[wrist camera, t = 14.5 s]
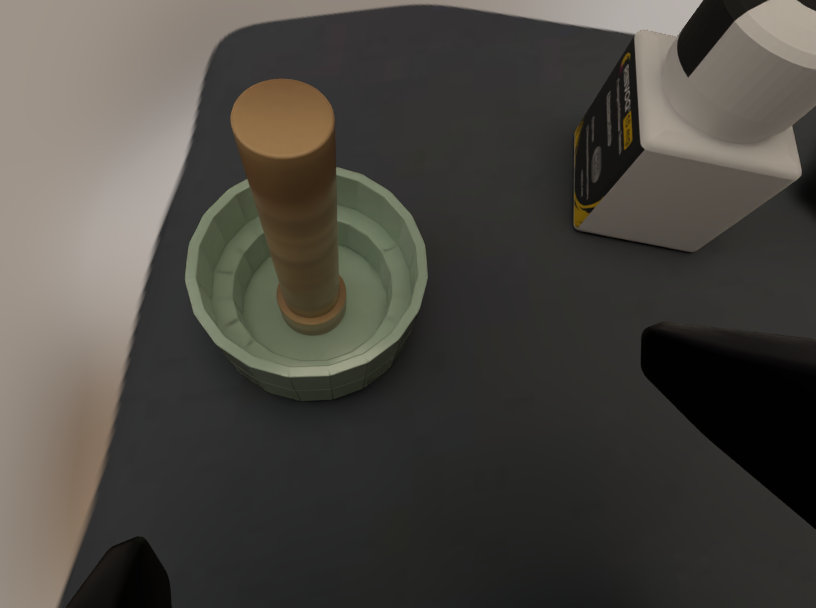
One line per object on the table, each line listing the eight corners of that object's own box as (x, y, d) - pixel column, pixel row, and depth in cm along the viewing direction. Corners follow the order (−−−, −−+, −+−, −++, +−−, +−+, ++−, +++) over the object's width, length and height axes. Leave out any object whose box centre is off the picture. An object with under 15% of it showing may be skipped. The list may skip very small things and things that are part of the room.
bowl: (417, 398, 22) (436, 372, 17) (210, 407, 21) (172, 381, 16) (405, 227, 25) (418, 166, 21) (226, 226, 24) (198, 161, 19)
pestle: (346, 335, 22) (348, 169, 11) (279, 336, 22) (211, 167, 11) (345, 275, 23) (346, 71, 12) (281, 276, 23) (221, 64, 12)
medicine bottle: (572, 131, 29) (710, -94, 18) (684, 154, 30) (886, -52, 18) (571, 232, 26) (733, 39, 15) (694, 255, 27) (940, 84, 16)
